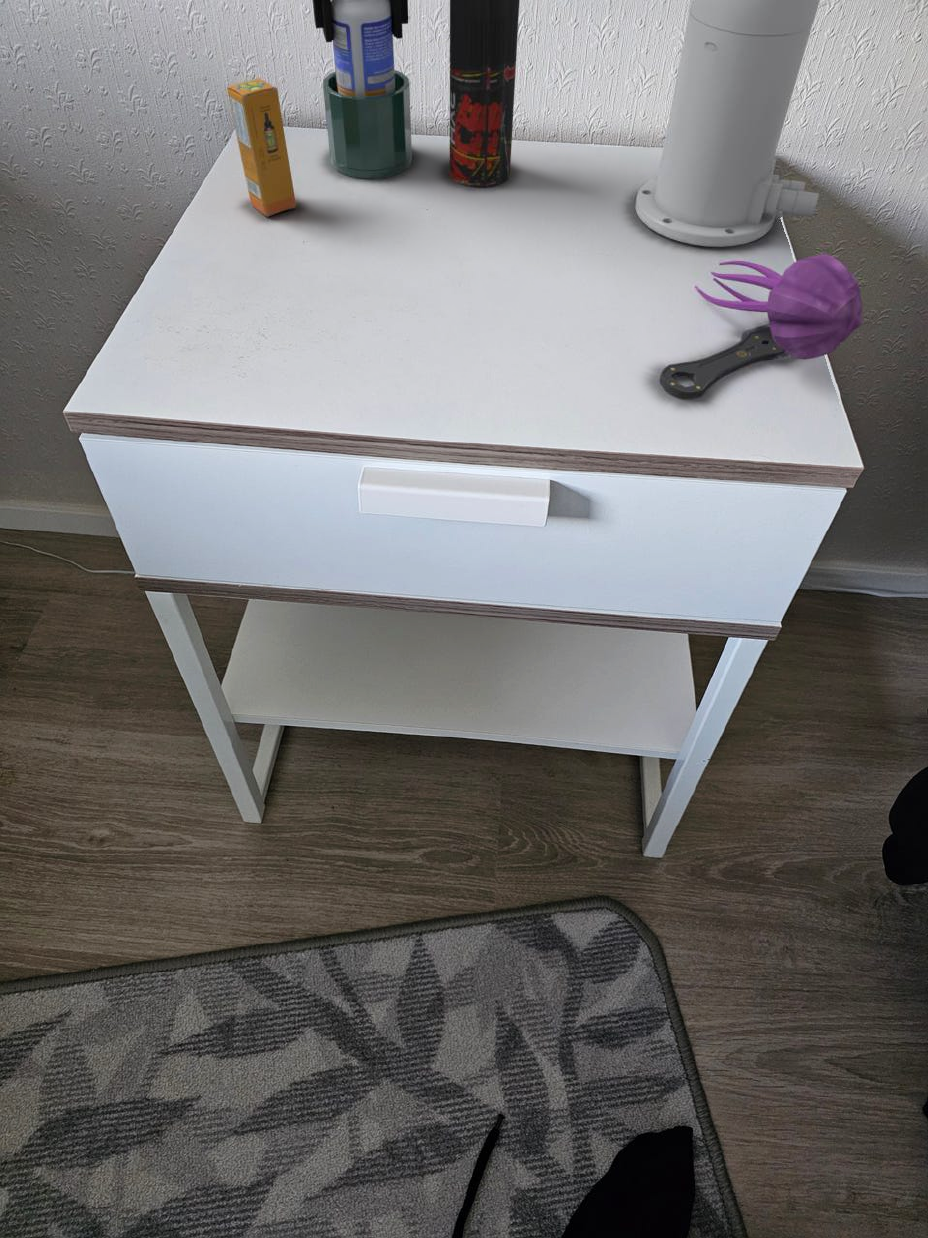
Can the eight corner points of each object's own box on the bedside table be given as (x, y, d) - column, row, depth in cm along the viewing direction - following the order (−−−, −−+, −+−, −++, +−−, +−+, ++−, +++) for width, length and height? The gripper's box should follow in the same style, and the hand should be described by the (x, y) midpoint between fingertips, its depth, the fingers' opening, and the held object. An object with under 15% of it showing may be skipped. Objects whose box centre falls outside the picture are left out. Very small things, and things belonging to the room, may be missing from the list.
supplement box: (279, 194, 79) (261, 74, 71) (297, 208, 78) (280, 87, 70) (247, 203, 78) (225, 82, 70) (265, 218, 76) (244, 96, 68)
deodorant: (437, 169, 83) (435, -15, 71) (485, 154, 85) (491, -27, 73) (473, 192, 80) (478, 4, 68) (522, 176, 82) (534, -9, 71)
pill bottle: (399, 83, 81) (394, -42, 73) (390, 106, 77) (385, -23, 70) (343, 80, 81) (333, -45, 73) (332, 102, 78) (320, -26, 70)
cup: (422, 149, 86) (421, 72, 80) (394, 184, 81) (390, 103, 75) (350, 138, 87) (343, 61, 82) (318, 171, 82) (308, 91, 77)
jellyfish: (724, 210, 66) (877, 243, 55) (749, 280, 71) (895, 324, 60) (661, 268, 66) (801, 313, 55) (690, 334, 71) (825, 388, 60)
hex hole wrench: (689, 400, 60) (687, 407, 60) (873, 316, 67) (870, 322, 67) (648, 369, 62) (646, 376, 62) (830, 290, 69) (827, 297, 69)
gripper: (225, -247, 58) (268, 55, 72) (469, -248, 60) (464, 44, 75) (222, -262, 62) (263, 25, 77) (448, -262, 65) (447, 16, 79)
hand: (362, 32), depth 75 cm, fingers closed on pill bottle, 5 cm apart
